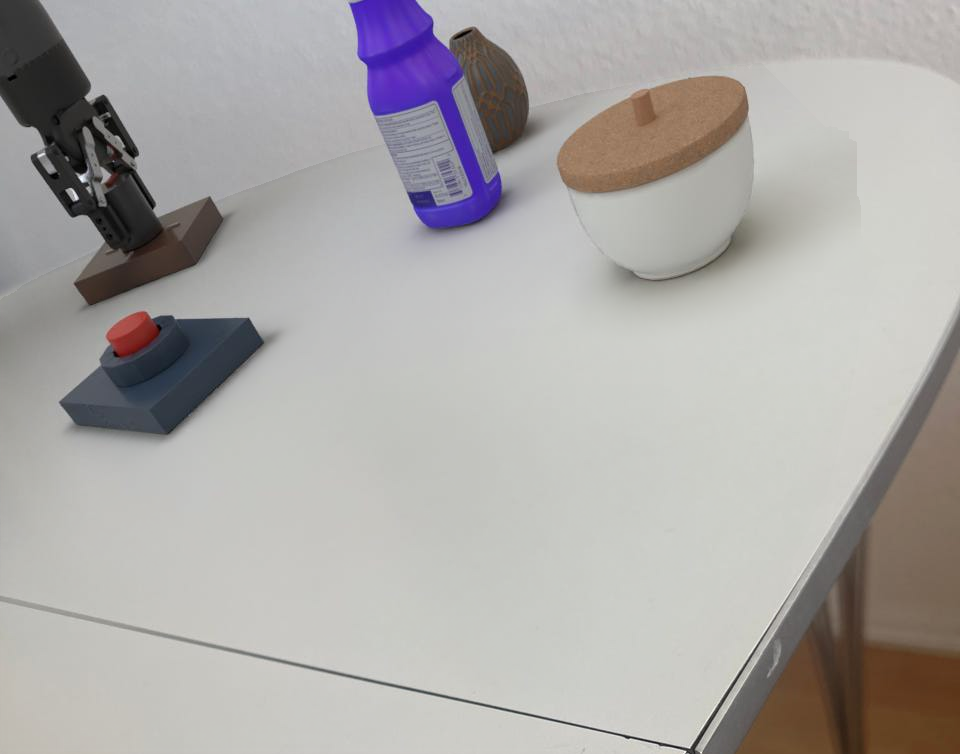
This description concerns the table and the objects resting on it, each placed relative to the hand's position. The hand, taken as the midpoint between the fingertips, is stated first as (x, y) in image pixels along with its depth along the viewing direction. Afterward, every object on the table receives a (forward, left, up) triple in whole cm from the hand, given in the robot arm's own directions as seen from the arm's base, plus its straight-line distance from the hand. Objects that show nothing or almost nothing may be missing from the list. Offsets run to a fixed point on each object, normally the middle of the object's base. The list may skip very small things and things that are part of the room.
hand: (135, 227), depth 98 cm
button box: (+12, -29, -4) cm, 32 cm away
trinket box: (+52, -35, -4) cm, 63 cm away
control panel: (0, 0, -4) cm, 4 cm away
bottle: (+36, -17, -4) cm, 40 cm away
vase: (+38, -4, -4) cm, 38 cm away
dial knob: (0, 0, -1) cm, 1 cm away
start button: (+12, -29, 0) cm, 31 cm away
